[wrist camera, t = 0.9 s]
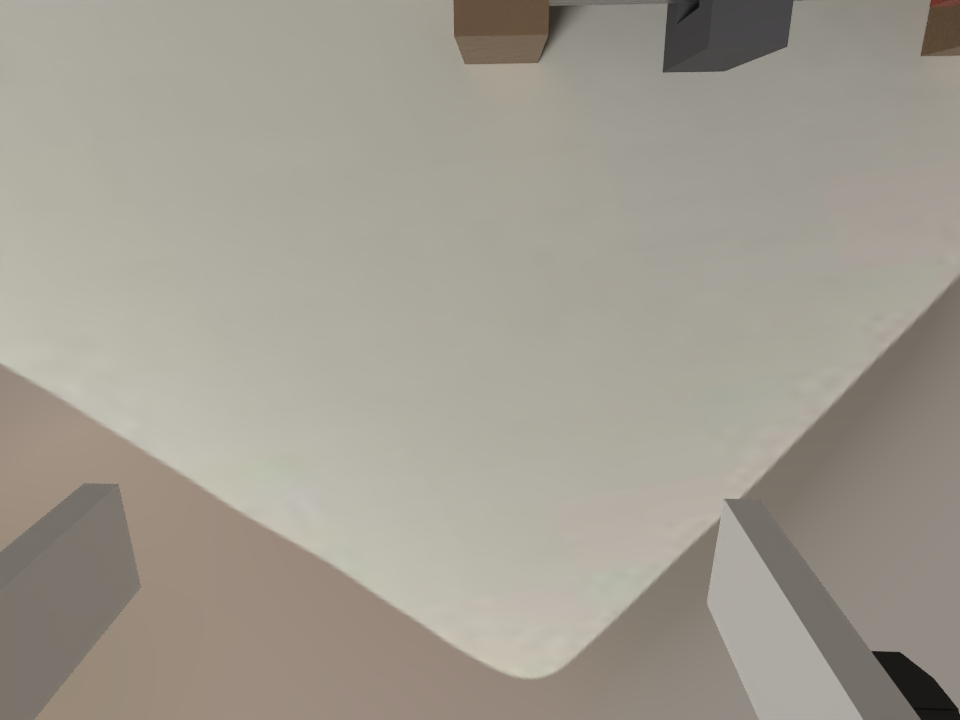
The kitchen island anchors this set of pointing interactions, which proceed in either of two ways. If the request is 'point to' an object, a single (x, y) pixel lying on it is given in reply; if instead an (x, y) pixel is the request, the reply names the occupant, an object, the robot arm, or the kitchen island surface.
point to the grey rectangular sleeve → (723, 33)
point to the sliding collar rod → (525, 4)
